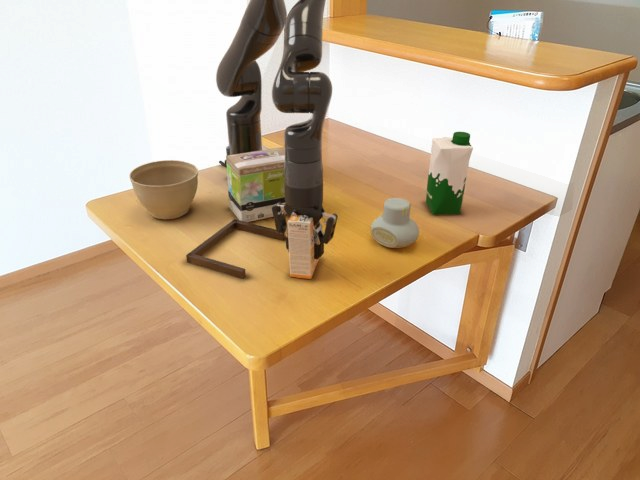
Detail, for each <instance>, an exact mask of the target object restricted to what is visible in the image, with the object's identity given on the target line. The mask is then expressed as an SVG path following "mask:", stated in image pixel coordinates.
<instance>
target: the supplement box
mask: <svg viewBox="0 0 640 480" xmlns="http://www.w3.org/2000/svg"><path fill="white" fill-rule="evenodd" d="M287 224H288V239H289V252H288V255H289V256H288V258H289V276H290V277H291V278H298V279H306V280H307V279H308V280H311V279H312V277H313V275H314V273H315V270H316V268H317V265H318V263H319V261H320V260H321V259H320V258H321V257H320V258H319V259H318V260H317V259H314V244H315V242H314V235H313V226H314V224H313V218H309V219H306V218H303V216H302V215H298V216H297V217H295V216H291V217H290V218H288V220H287ZM314 228H316V225H315V226H314Z"/></svg>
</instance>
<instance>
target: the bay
mask: <svg viewBox="0 0 640 480" xmlns="http://www.w3.org/2000/svg"><path fill="white" fill-rule="evenodd" d="M235 230H240V231H244V232H248V233H250V234H251V233H252V234H256V235H260V236H262V237H268V238H271V239H274V240H279V241H283V242H284V241H286V237H285V235H284V234H283V233H278V232H277V230H276V228H272V227H268V226H264V225H260V224H256V223H251V222H244V221H240V220H239V219H237V218H233V219H232V220H231V221H230V222H229V223H226V225H224V226H222V228H220V229H219V230H217V231H216V232H215V233H213V235H211V236H210V237H208V238H207V239H206V240H204V241H203V242H202V243H200V244H199V245H198V246H196V247H194V248H193V249H192V250H191V251H190V252H188V253H187V254H186V255H185V257H186V258H185V259H186V263H189V264H192V265H195V266H198V267H201V268H205V269H209V270H212V271H215V272H218V273H222V274H226V275H229V276H231V277H235V278H239V279H242V280H244V278H245V277H246V276H247V275H246V274H247V273H246V268H245V267H244V268H243V267H240V266H237V265H234V264H230V263H227V262H223V261H219V260H216V259H213V258H210V257H205V256H203V255H204V254H206V253H207V252H208V251H210V250H211V249H212V248H213V247H215V246H216V245H217V244H219V243H220V242H221V241H222V240H224V239H225V238H226V237H228V236H229V235H230V234H231V233H232V232H234V231H235Z"/></svg>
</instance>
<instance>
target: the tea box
mask: <svg viewBox="0 0 640 480" xmlns="http://www.w3.org/2000/svg"><path fill="white" fill-rule="evenodd" d="M225 160H226V165H227V167H226V177H227V178H226V179H227V193H228V194H227V195H228V206H229V209H230V210H231V212H232V213H233V214H234V216H235V217H236V219H237V220H240V221H244V222H248V223H251V222H254V221H258V220H259V221H260V220H264V219H269V218H274V217H273V213H272V207H273V206H274V205H275V204H277V203H278V202H281V203H282V204H285V203H286V202H285V189H284V162H285V150H284V147H282V146H281V147H275V148H267V149H262V150H260V151H254V152H247V153H240V154H234V155H227V154H226V155H225ZM284 214H285V215H287V213H286V212H285V213H284Z"/></svg>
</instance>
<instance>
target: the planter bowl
mask: <svg viewBox="0 0 640 480" xmlns="http://www.w3.org/2000/svg"><path fill="white" fill-rule="evenodd" d="M198 176H199V168H198V167H197V166H196V165H195V164H193V163H190V162H187V161H183V160H175V159H165V160H156V161H151V162H146V163H144V164H143V163H142V164H141V165H139V166H137V167H135V168H134V169H132V170H131V171H130V173H129V180H130V182H131V186H132V190H133V192H134V195H135V196H136V198H137V200H138V201H139V203H140V204H141V205H142V206H143V207H144V208H145V209H146V210H147V211H148V212H149V214H150V216H151V217H152V218H155V219H158V220H174V219H178V218H181V217H182V216H185V215H186V214H188V212H189V209H190V206H191V204H192V203H193V201H194V199H195V197H196V195H197V190H198V182H199V178H198Z"/></svg>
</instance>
